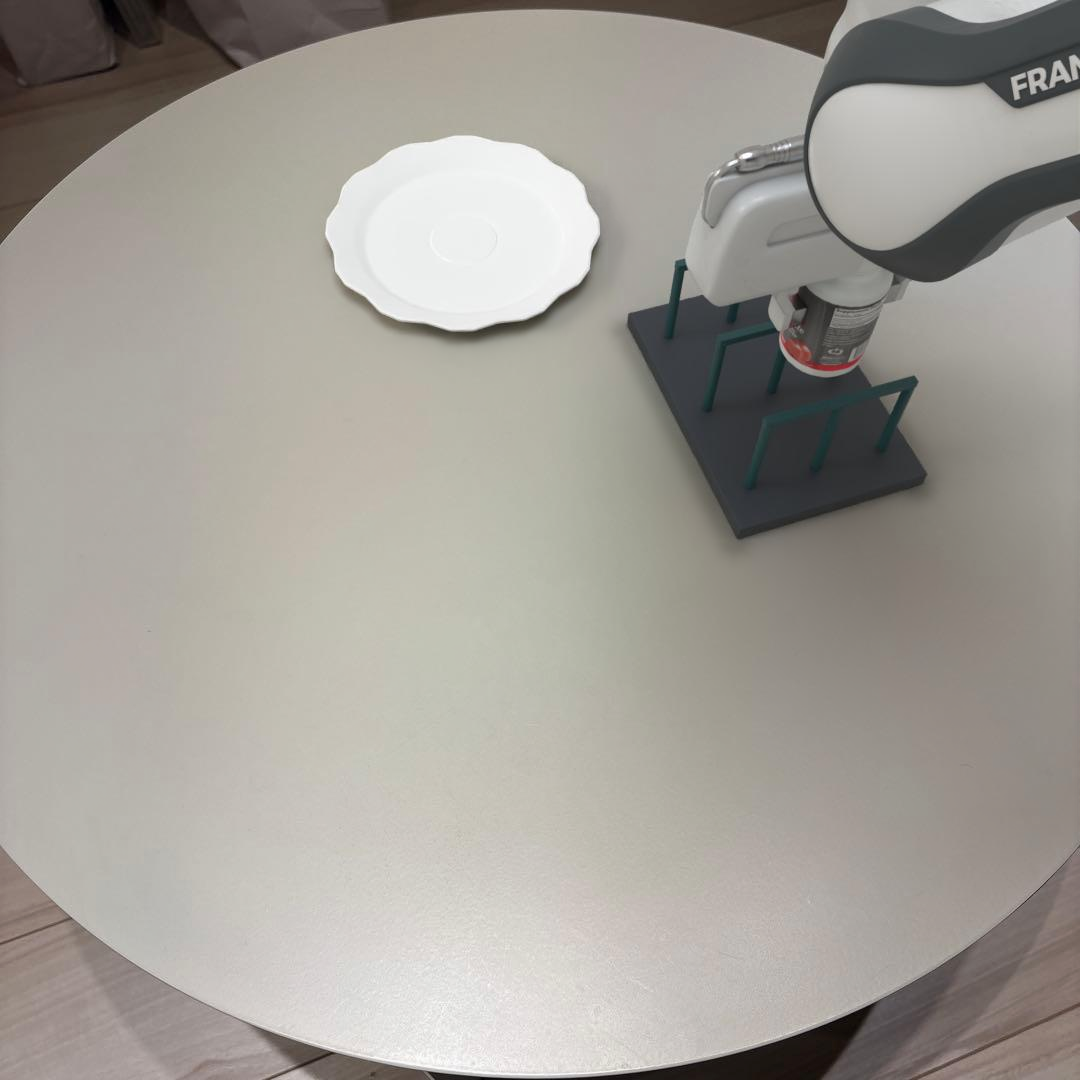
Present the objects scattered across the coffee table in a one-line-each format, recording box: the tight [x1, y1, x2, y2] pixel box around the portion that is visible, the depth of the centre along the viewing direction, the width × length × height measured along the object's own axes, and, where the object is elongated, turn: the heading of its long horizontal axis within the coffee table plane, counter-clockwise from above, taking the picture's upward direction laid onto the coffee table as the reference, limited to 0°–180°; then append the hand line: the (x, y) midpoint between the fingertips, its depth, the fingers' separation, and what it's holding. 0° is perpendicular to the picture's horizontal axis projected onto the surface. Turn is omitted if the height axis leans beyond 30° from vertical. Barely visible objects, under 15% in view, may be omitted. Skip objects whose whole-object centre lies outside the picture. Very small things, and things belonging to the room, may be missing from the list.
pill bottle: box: [779, 258, 893, 377], centre depth 68 cm, size 5×5×10 cm
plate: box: [324, 135, 601, 332], centre depth 89 cm, size 21×21×2 cm
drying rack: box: [626, 258, 928, 539], centre depth 78 cm, size 20×14×8 cm
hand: (834, 308), depth 69 cm, fingers closed on pill bottle, 5 cm apart
